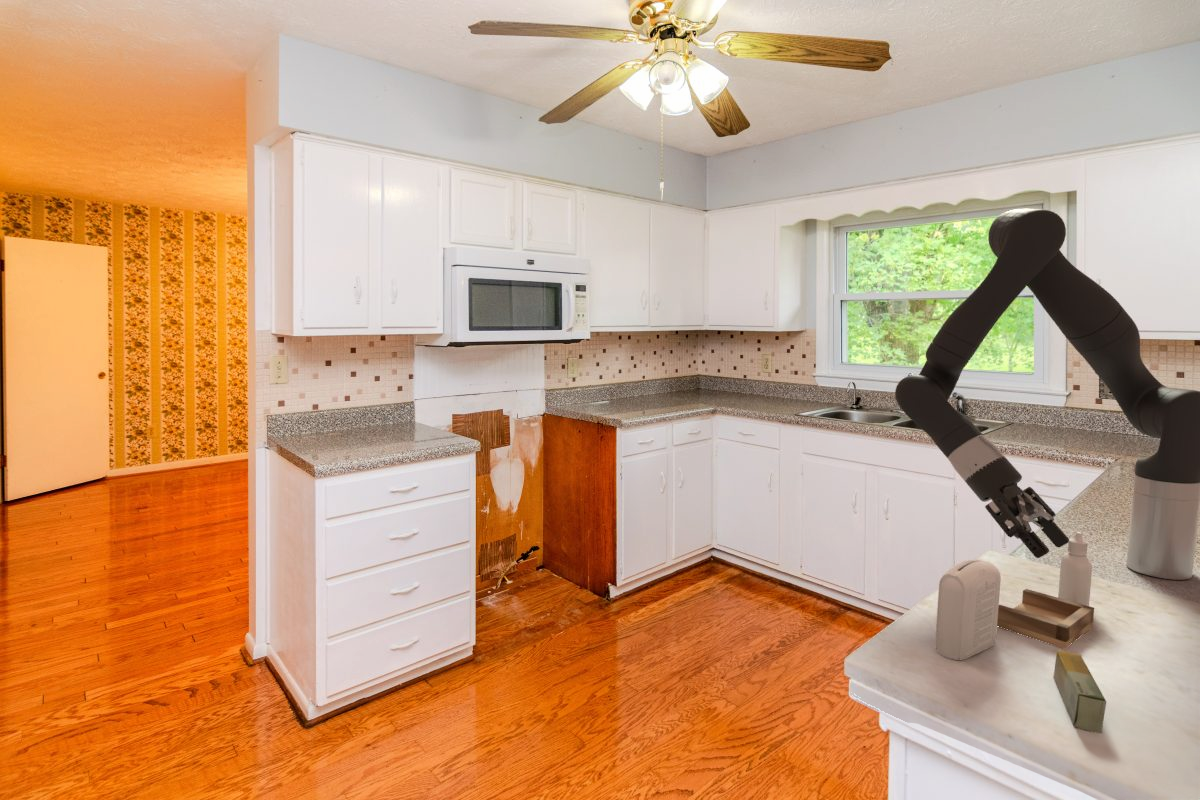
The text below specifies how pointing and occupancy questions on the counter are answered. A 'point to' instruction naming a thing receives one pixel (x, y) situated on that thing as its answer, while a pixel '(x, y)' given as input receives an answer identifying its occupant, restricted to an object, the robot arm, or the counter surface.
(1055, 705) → the counter surface
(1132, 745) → the counter surface
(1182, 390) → the robot arm
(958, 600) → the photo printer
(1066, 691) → the medication box
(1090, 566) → the eye dropper bottle
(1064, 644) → the oak tray
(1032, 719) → the counter surface
